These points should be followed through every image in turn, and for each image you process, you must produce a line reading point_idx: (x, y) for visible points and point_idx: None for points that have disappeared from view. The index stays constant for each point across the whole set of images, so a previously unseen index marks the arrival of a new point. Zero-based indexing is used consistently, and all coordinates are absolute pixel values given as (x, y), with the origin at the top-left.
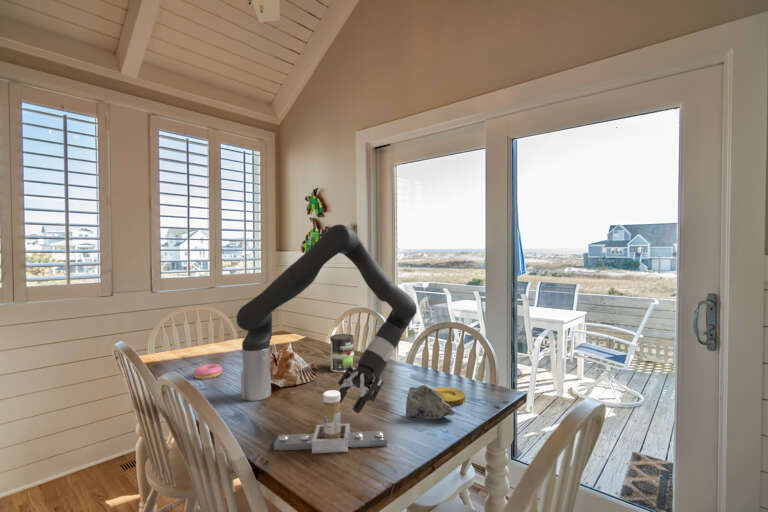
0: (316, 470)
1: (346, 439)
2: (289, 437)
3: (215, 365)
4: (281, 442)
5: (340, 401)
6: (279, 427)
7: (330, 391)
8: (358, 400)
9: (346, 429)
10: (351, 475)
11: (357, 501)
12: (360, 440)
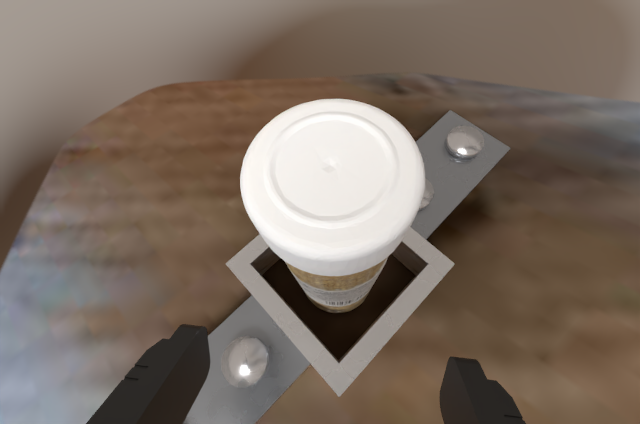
0: None
1: (231, 263)
2: (462, 163)
3: None
4: (444, 129)
5: (445, 412)
6: (617, 214)
7: (374, 178)
8: (136, 391)
9: (299, 330)
10: (145, 195)
11: (74, 142)
12: (212, 336)
